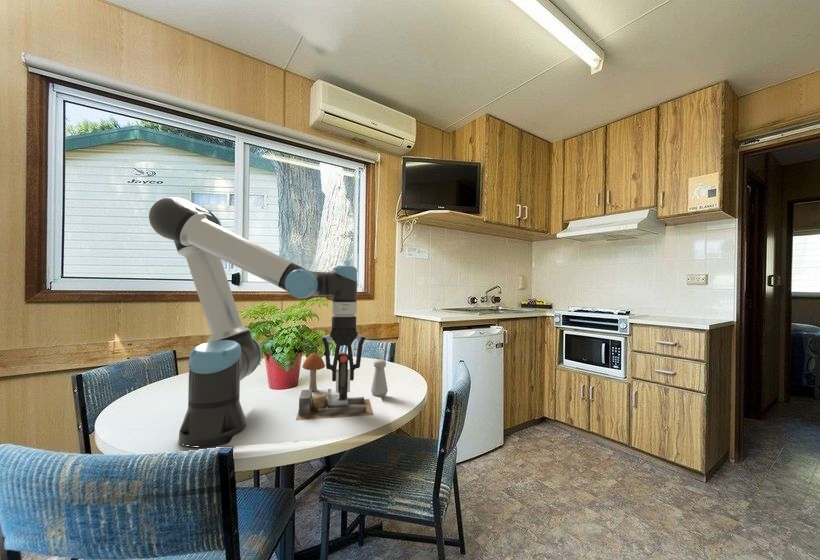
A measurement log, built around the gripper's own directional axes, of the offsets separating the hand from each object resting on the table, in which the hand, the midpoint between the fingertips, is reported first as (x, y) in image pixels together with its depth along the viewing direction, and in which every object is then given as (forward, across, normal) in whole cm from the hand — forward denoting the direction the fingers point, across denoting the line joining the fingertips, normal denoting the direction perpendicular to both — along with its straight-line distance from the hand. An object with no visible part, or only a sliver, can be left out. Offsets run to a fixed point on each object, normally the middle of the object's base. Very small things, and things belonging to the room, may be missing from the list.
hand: (342, 390), depth 105 cm
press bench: (+7, -2, 0) cm, 7 cm away
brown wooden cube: (+5, -7, 0) cm, 9 cm away
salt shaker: (+7, +13, +12) cm, 19 cm away
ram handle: (+5, -1, 0) cm, 5 cm away
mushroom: (+7, -10, +19) cm, 23 cm away
